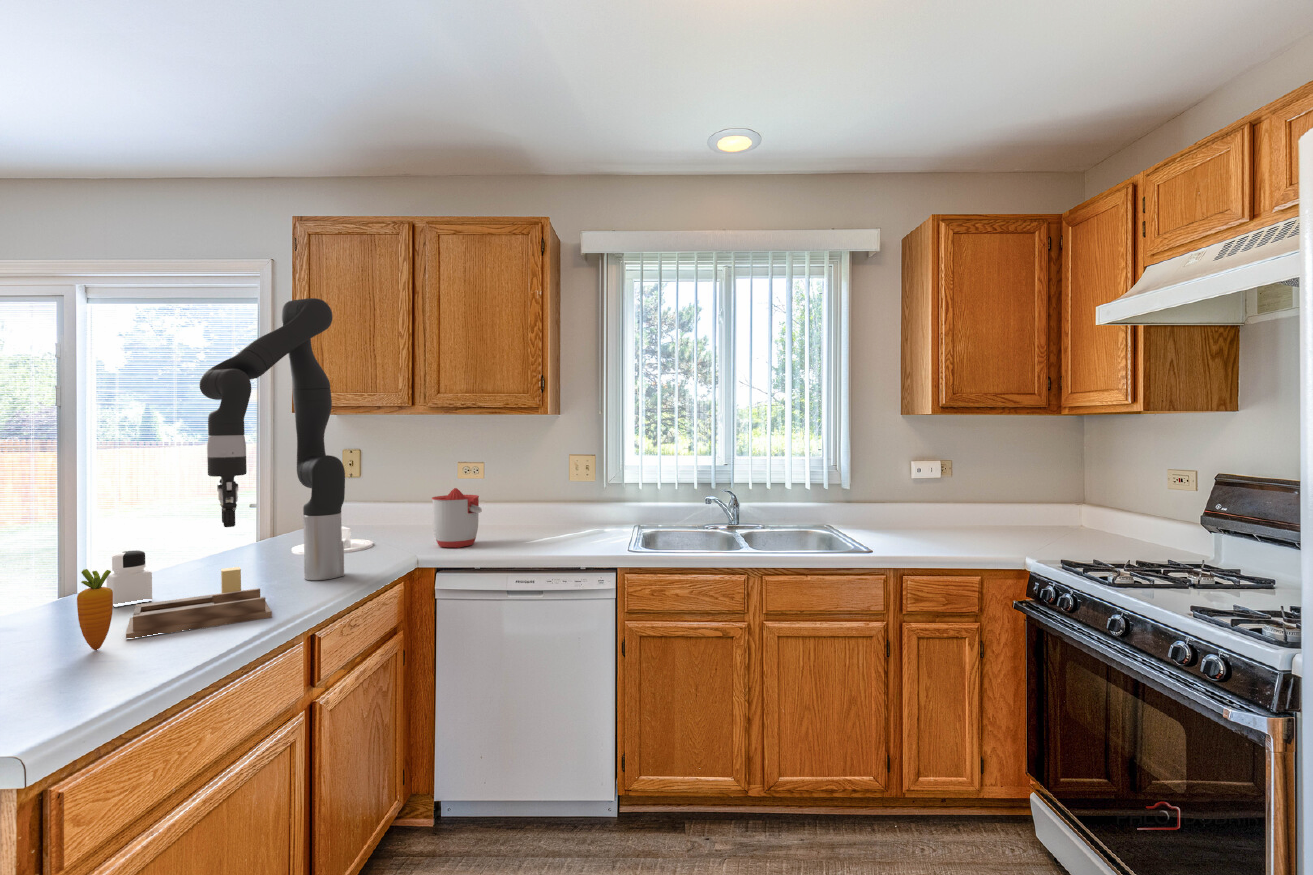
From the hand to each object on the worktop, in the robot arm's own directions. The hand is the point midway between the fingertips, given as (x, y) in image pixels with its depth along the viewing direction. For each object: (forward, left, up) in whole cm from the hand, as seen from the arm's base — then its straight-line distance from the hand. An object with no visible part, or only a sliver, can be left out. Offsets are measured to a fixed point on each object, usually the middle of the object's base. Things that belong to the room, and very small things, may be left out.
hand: (228, 524), depth 149 cm
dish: (-33, -64, -19) cm, 74 cm away
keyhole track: (+6, +13, -18) cm, 23 cm away
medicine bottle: (+19, -16, -18) cm, 31 cm away
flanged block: (0, 0, -18) cm, 18 cm away
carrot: (+22, +24, -18) cm, 37 cm away
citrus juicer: (-68, -40, -18) cm, 81 cm away
